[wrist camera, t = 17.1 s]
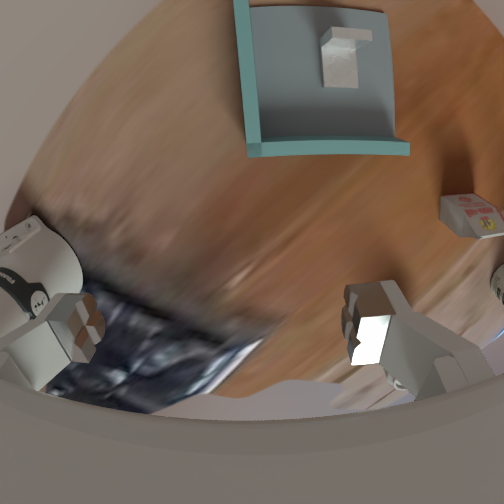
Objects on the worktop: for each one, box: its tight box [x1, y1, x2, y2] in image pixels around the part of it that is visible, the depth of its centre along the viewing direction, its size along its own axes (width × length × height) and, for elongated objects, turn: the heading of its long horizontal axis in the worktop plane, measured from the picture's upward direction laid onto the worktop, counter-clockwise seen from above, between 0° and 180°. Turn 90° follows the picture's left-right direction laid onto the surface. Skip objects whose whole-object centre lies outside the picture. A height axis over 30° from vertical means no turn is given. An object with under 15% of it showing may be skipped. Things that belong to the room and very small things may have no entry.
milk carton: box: [439, 193, 504, 239], centre depth 32 cm, size 4×7×10 cm, turn 100°
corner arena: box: [233, 0, 410, 158], centre depth 27 cm, size 18×18×5 cm
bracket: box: [319, 27, 373, 89], centre depth 25 cm, size 6×4×7 cm, turn 5°
